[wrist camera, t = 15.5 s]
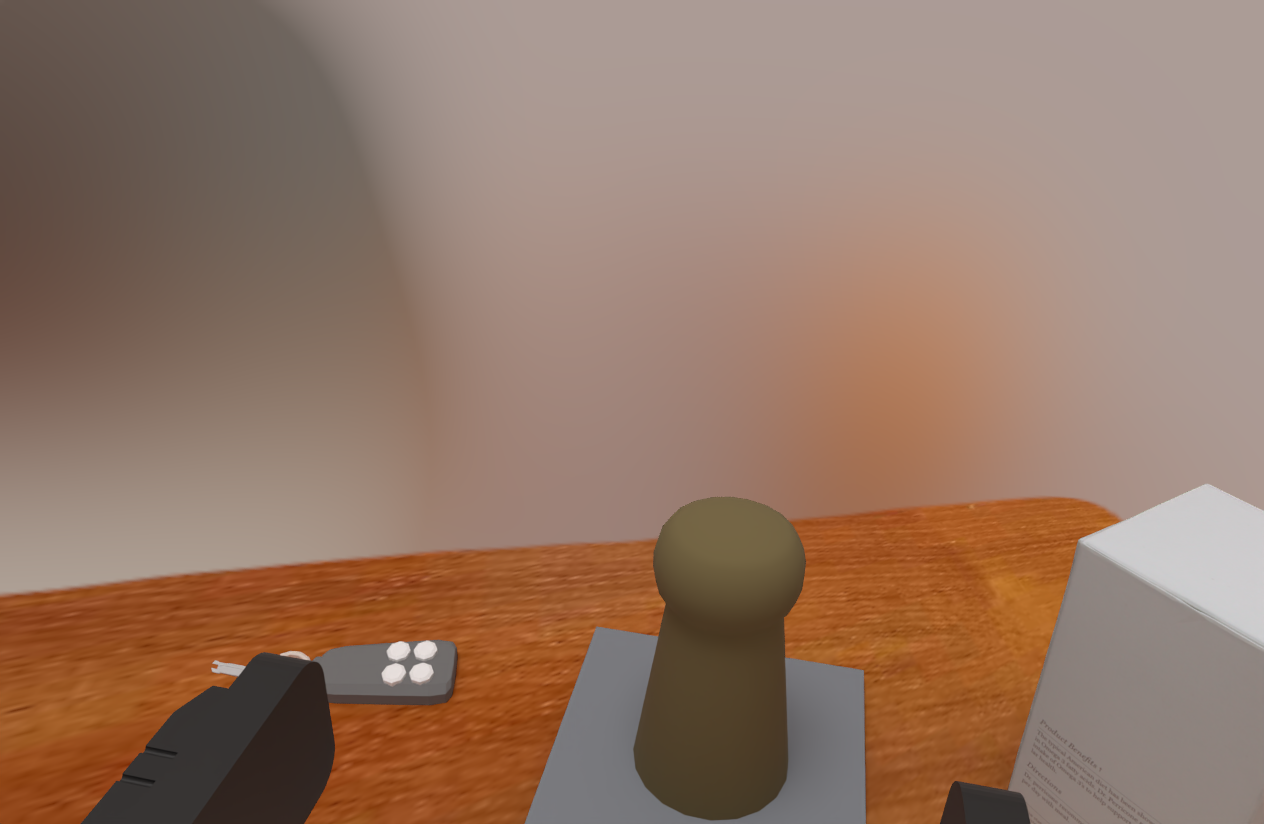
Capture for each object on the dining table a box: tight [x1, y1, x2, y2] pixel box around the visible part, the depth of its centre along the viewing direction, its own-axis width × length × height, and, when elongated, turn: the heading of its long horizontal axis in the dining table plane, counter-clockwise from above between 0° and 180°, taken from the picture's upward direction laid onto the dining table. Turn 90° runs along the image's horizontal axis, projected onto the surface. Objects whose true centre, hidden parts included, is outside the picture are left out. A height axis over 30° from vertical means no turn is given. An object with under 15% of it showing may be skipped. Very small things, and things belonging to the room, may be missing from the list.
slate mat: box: [525, 627, 866, 824], centre depth 37 cm, size 12×12×1 cm
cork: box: [633, 497, 806, 821], centre depth 34 cm, size 6×6×11 cm
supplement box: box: [1008, 484, 1264, 824], centre depth 32 cm, size 7×7×13 cm
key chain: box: [211, 640, 457, 705], centre depth 41 cm, size 13×4×2 cm, turn 94°
